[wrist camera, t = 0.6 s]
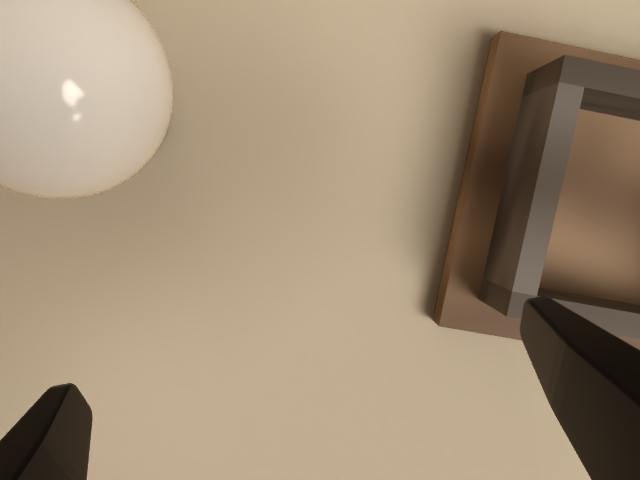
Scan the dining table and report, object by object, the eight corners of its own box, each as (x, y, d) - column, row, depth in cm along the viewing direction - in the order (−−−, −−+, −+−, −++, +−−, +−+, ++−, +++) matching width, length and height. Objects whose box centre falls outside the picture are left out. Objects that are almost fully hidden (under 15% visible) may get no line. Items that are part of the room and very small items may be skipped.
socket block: (691, 364, 24) (770, 398, 20) (432, 320, 23) (461, 347, 19) (762, 94, 23) (861, 74, 19) (491, 38, 22) (535, 4, 18)
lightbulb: (76, 35, 21) (-161, -132, 10) (225, 61, 21) (150, -72, 10) (60, 182, 22) (-183, 176, 11) (204, 206, 22) (113, 222, 11)
